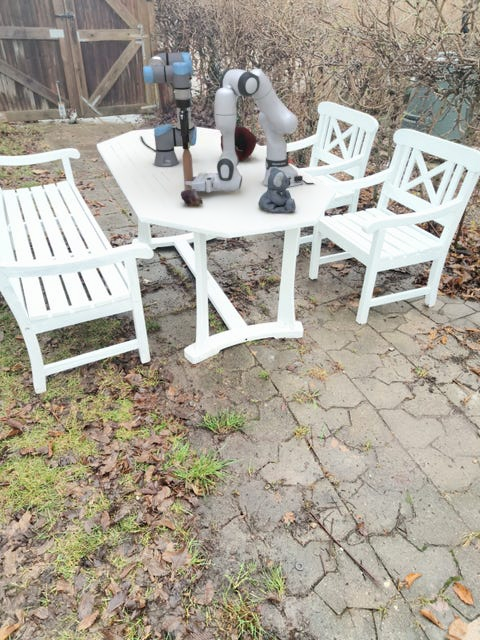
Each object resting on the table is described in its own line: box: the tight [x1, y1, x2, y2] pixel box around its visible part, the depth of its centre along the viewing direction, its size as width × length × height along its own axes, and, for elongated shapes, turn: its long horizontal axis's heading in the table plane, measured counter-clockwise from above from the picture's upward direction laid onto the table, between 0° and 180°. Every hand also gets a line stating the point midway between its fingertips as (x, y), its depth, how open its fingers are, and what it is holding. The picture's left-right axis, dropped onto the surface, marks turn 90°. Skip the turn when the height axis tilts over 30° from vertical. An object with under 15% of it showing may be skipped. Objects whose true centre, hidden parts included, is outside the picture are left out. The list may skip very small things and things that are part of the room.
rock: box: [180, 189, 204, 207], centre depth 229 cm, size 12×9×10 cm
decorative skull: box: [219, 125, 257, 162], centre depth 297 cm, size 21×24×25 cm
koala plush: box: [257, 167, 297, 214], centre depth 221 cm, size 17×18×20 cm
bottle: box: [181, 148, 194, 191], centre depth 240 cm, size 5×5×26 cm
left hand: (186, 147), depth 234 cm, fingers closed on cap, 4 cm apart
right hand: (187, 180), depth 244 cm, fingers closed on bottle, 5 cm apart
